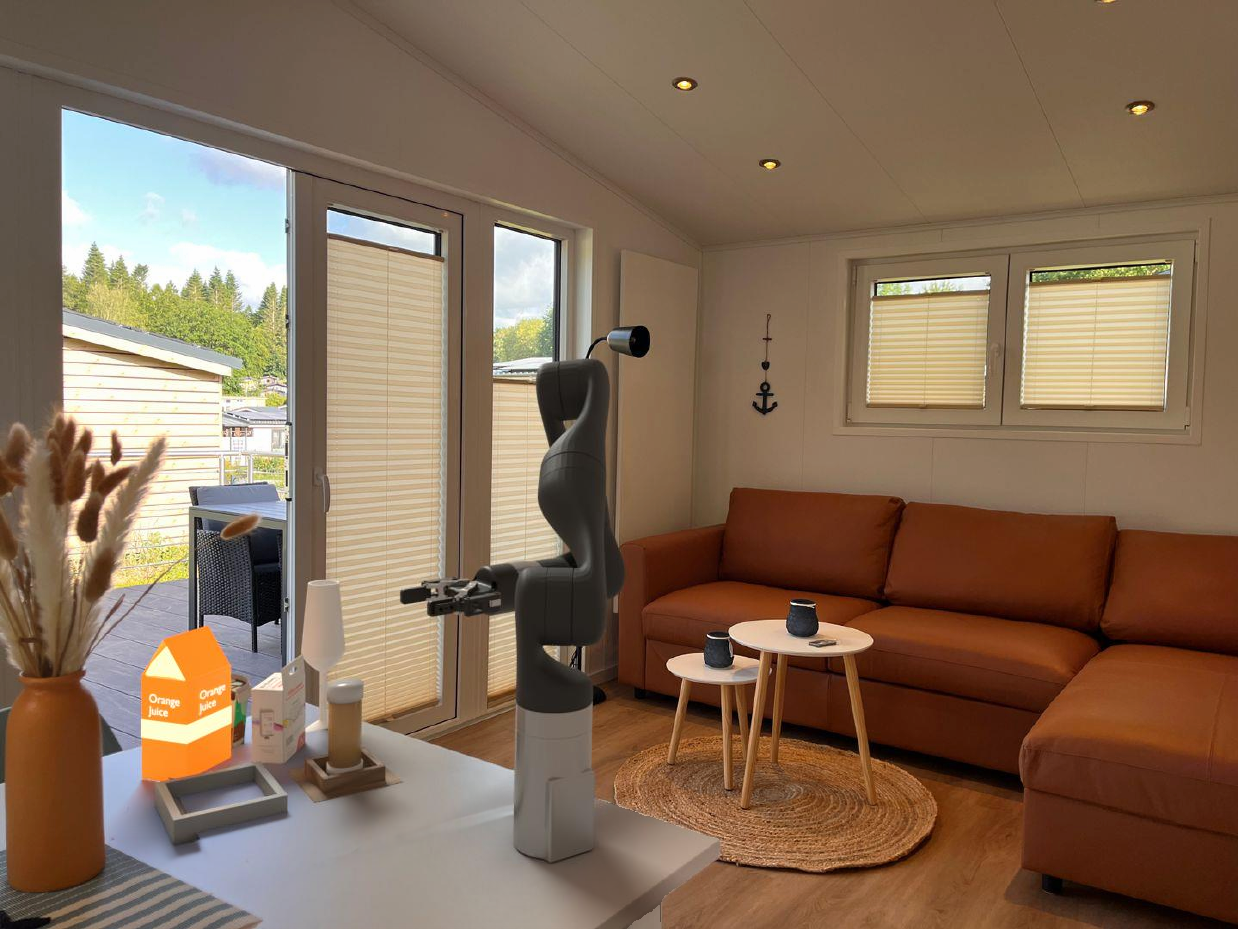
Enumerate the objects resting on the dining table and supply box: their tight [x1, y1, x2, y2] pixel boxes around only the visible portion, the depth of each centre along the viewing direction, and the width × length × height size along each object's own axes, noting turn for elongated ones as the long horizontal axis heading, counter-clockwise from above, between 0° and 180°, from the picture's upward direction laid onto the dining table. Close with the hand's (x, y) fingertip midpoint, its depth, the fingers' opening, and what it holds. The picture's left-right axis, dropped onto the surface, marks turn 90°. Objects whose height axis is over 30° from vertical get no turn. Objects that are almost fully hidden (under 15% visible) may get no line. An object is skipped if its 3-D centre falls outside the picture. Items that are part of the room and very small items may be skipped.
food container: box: [231, 672, 253, 749], centre depth 138 cm, size 12×6×10 cm, turn 66°
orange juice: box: [140, 625, 232, 781], centre depth 126 cm, size 8×9×20 cm
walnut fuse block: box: [287, 746, 404, 804], centre depth 123 cm, size 12×12×3 cm
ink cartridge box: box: [250, 654, 306, 764], centre depth 131 cm, size 9×5×15 cm, turn 179°
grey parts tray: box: [154, 761, 288, 846], centre depth 114 cm, size 13×13×3 cm
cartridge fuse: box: [326, 678, 365, 776], centre depth 123 cm, size 5×5×13 cm
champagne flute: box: [300, 579, 346, 734], centre depth 143 cm, size 7×7×24 cm
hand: (414, 603), depth 128 cm, fingers open, 8 cm apart
